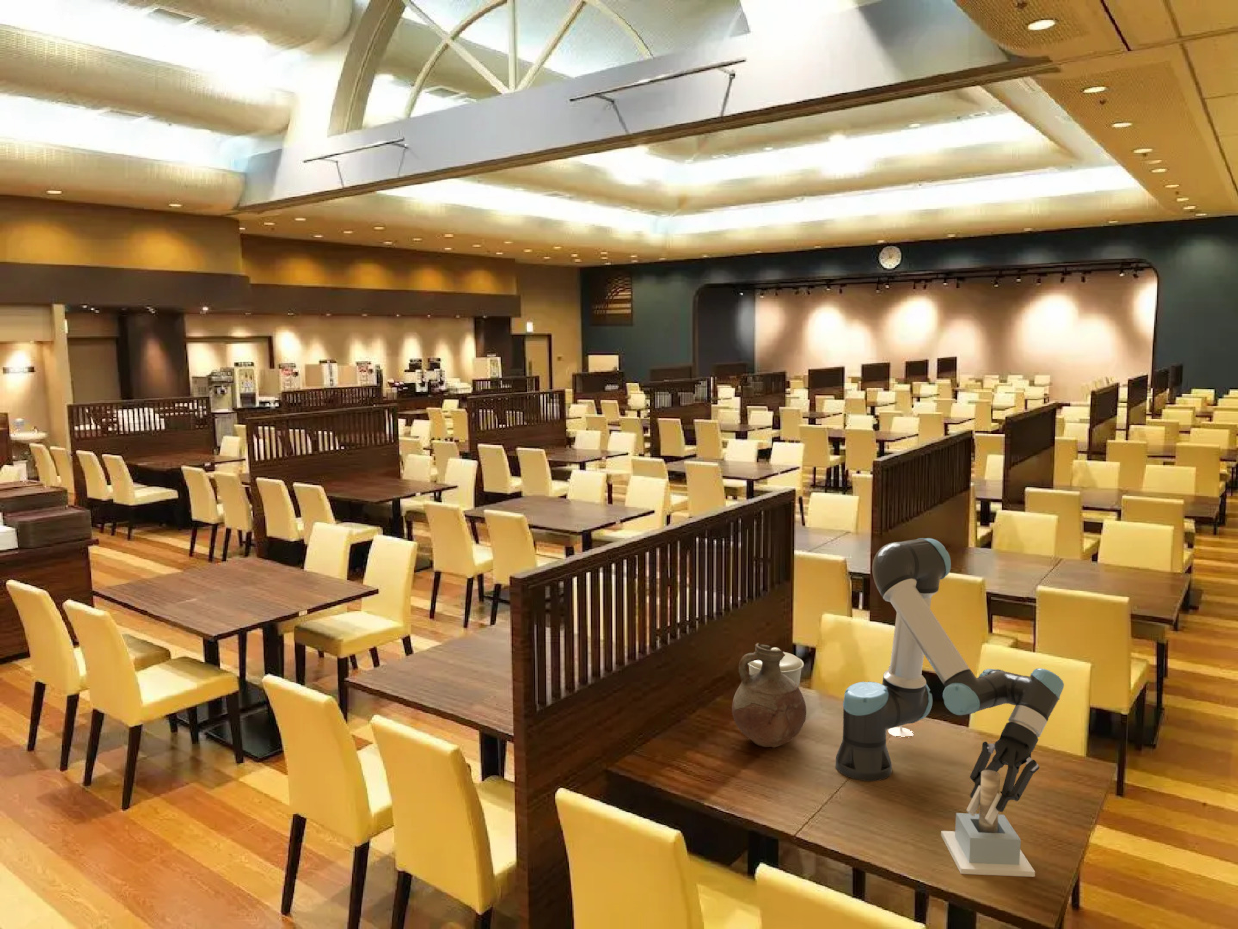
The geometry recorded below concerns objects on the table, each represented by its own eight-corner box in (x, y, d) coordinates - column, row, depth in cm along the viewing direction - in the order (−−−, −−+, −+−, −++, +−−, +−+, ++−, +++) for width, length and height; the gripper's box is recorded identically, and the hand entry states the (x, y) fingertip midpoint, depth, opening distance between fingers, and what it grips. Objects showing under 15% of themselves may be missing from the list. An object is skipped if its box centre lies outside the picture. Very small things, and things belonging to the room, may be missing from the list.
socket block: (960, 874, 202) (962, 843, 201) (941, 835, 218) (942, 807, 217) (1034, 876, 201) (1036, 846, 200) (1009, 838, 217) (1011, 809, 216)
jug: (818, 753, 262) (821, 653, 258) (750, 763, 256) (752, 661, 252) (784, 723, 282) (786, 630, 278) (720, 732, 276) (721, 637, 272)
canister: (813, 710, 293) (815, 647, 290) (782, 727, 280) (783, 661, 277) (766, 695, 305) (767, 635, 302) (734, 711, 292) (735, 648, 289)
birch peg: (981, 836, 207) (984, 777, 205) (976, 826, 210) (978, 769, 209) (999, 836, 206) (1002, 778, 204) (993, 827, 210) (996, 770, 208)
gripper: (1063, 750, 208) (1020, 841, 201) (995, 726, 222) (952, 809, 214) (1052, 734, 204) (1007, 825, 197) (984, 710, 218) (939, 795, 211)
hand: (979, 817), depth 206 cm, fingers closed on birch peg, 4 cm apart
